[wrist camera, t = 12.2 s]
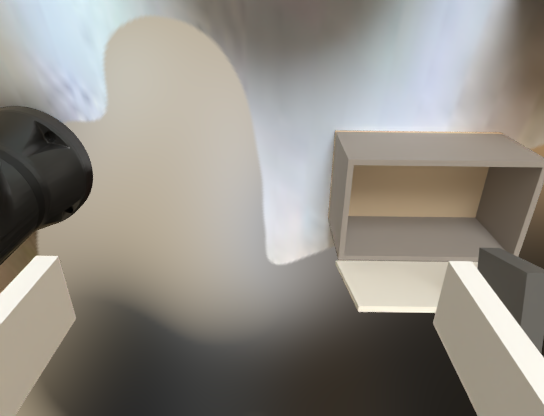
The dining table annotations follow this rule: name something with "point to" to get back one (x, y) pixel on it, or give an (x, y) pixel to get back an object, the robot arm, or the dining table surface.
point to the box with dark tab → (429, 279)
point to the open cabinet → (430, 194)
